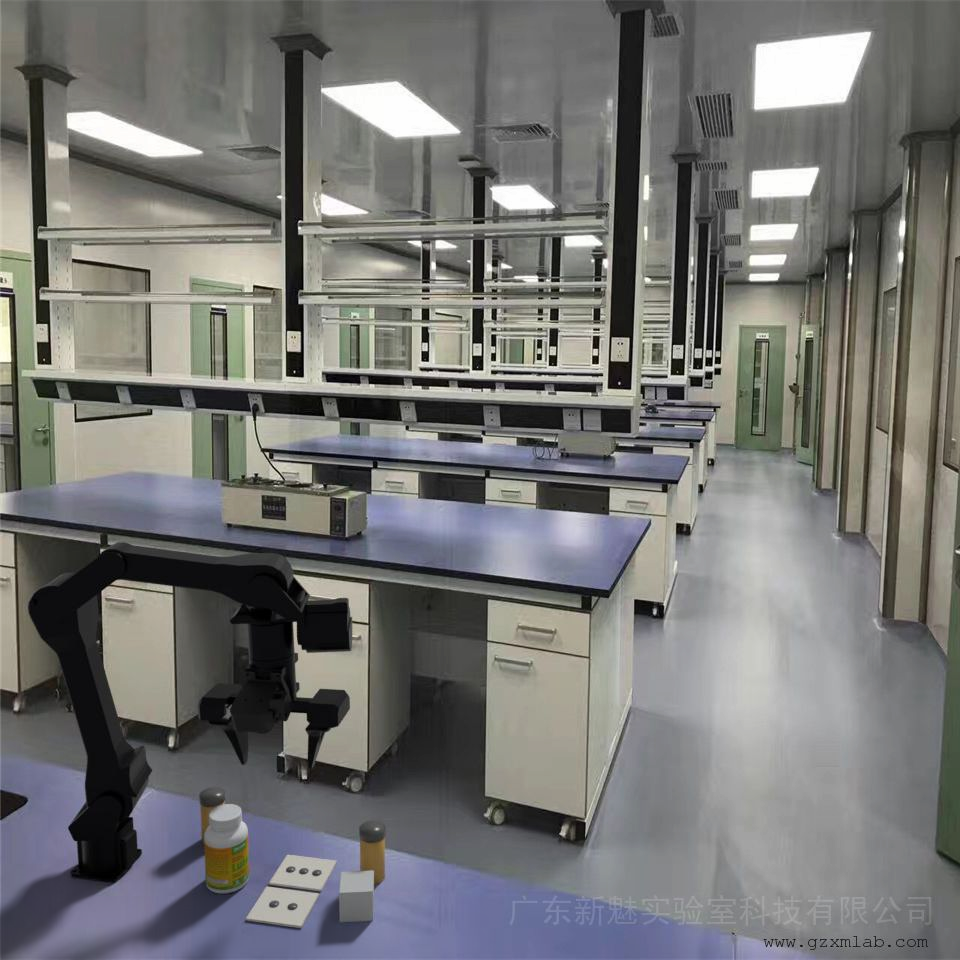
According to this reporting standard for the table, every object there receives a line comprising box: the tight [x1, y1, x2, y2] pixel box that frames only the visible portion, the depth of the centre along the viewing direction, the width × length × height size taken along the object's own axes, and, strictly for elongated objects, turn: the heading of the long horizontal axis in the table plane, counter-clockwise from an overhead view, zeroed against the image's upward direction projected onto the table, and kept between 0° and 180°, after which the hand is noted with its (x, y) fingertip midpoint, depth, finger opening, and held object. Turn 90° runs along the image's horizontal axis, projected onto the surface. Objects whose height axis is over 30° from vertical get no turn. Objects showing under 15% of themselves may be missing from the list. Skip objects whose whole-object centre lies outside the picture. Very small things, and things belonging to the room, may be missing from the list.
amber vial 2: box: [358, 820, 387, 886], centre depth 108 cm, size 3×3×7 cm
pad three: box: [268, 854, 338, 892], centre depth 109 cm, size 7×6×1 cm
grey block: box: [338, 870, 375, 923], centre depth 102 cm, size 4×4×4 cm
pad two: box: [245, 886, 320, 929], centre depth 103 cm, size 7×6×1 cm
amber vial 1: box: [198, 786, 226, 846], centre depth 116 cm, size 3×3×7 cm
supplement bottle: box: [203, 803, 250, 895], centre depth 107 cm, size 5×5×10 cm
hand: (277, 765), depth 110 cm, fingers open, 9 cm apart
